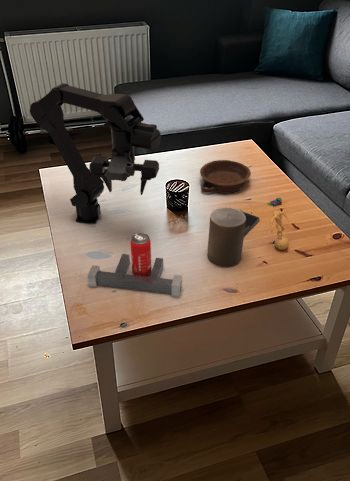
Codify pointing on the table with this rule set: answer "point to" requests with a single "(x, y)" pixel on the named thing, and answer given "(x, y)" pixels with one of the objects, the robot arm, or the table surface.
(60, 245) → the table surface
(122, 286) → the rail dock
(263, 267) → the table surface
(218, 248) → the pillar candle
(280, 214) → the figurine
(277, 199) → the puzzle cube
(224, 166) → the dish
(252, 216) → the phone
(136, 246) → the beverage can
